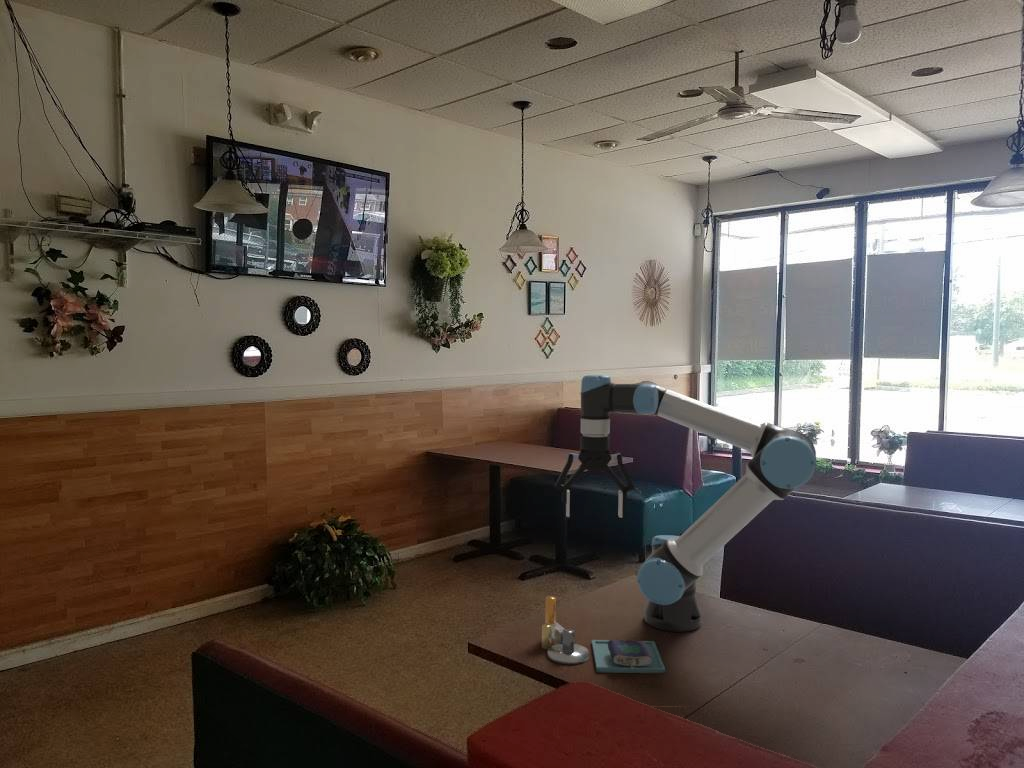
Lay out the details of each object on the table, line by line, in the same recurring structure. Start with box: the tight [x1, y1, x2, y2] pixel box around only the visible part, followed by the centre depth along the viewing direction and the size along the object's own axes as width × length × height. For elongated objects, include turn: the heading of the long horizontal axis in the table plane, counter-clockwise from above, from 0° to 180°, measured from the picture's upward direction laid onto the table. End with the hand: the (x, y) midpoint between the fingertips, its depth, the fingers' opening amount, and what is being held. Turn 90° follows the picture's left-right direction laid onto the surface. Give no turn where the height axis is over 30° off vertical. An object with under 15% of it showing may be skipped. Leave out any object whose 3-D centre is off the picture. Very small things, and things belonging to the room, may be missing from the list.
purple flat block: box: [608, 639, 652, 669], centre depth 173 cm, size 9×3×11 cm
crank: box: [544, 595, 565, 645], centre depth 185 cm, size 9×3×9 cm, turn 23°
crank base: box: [541, 623, 590, 665], centre depth 179 cm, size 11×11×6 cm
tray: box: [591, 639, 666, 674], centre depth 178 cm, size 16×16×1 cm
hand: (594, 516), depth 192 cm, fingers open, 13 cm apart
